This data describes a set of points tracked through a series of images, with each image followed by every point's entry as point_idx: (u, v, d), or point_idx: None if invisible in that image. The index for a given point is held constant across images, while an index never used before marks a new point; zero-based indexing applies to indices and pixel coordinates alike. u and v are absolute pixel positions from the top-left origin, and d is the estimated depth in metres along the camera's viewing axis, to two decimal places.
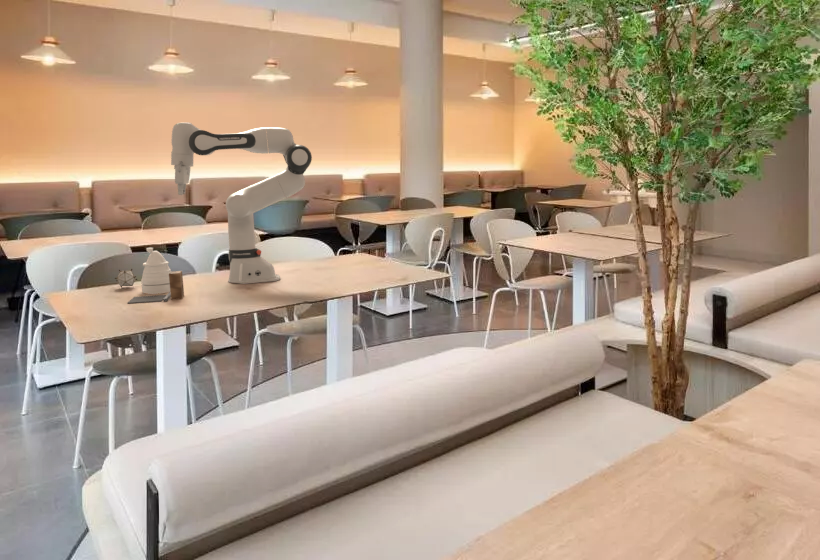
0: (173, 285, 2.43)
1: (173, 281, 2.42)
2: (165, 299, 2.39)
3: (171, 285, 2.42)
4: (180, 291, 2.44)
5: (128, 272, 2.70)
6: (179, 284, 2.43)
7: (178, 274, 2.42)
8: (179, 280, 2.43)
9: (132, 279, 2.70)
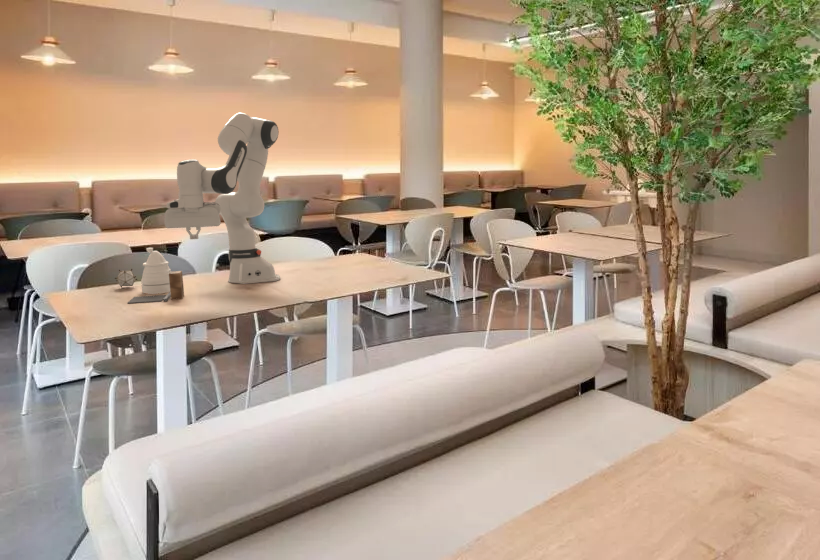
0: (173, 285, 2.43)
1: (173, 281, 2.42)
2: (165, 299, 2.39)
3: (171, 285, 2.42)
4: (180, 291, 2.44)
5: (128, 272, 2.70)
6: (179, 284, 2.43)
7: (178, 274, 2.42)
8: (179, 280, 2.43)
9: (132, 279, 2.70)
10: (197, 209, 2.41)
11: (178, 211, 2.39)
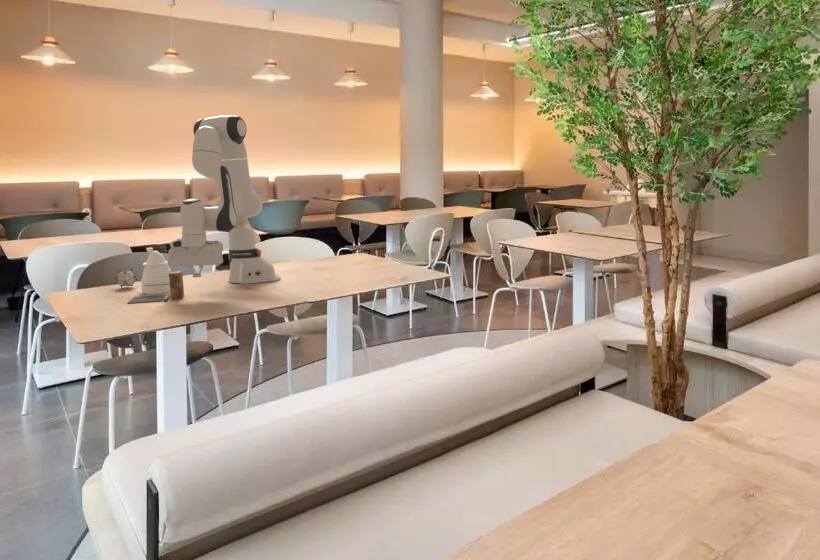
0: (173, 285, 2.43)
1: (173, 281, 2.42)
2: (165, 299, 2.39)
3: (171, 285, 2.42)
4: (180, 291, 2.44)
5: (128, 272, 2.70)
6: (179, 284, 2.43)
7: (178, 274, 2.42)
8: (179, 280, 2.43)
9: (132, 279, 2.70)
10: (200, 248, 2.43)
11: (181, 250, 2.42)
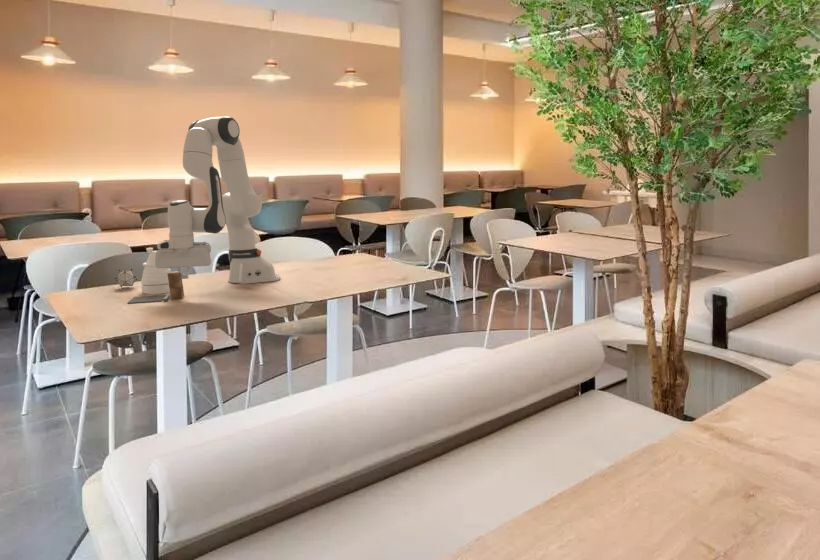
0: (172, 285, 2.42)
1: (172, 281, 2.42)
2: (165, 299, 2.39)
3: (170, 285, 2.42)
4: (180, 291, 2.43)
5: (128, 272, 2.70)
6: (178, 284, 2.43)
7: (177, 274, 2.42)
8: (178, 280, 2.43)
9: (132, 279, 2.70)
10: (188, 249, 2.42)
11: (169, 251, 2.41)
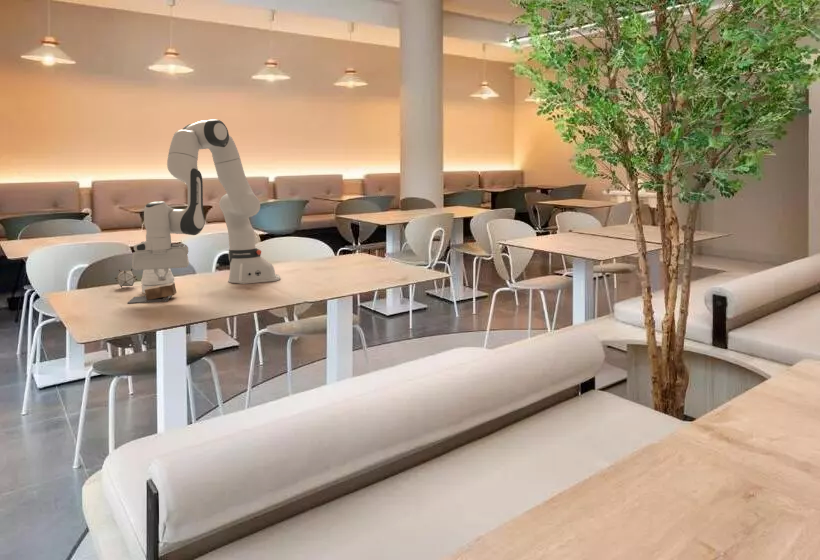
0: (158, 294, 2.42)
1: (155, 294, 2.42)
2: (165, 299, 2.39)
3: (159, 296, 2.42)
4: (164, 287, 2.42)
5: (128, 272, 2.70)
6: (156, 288, 2.42)
7: (146, 290, 2.41)
8: (152, 289, 2.41)
9: (132, 279, 2.70)
10: (164, 251, 2.41)
11: (145, 253, 2.39)
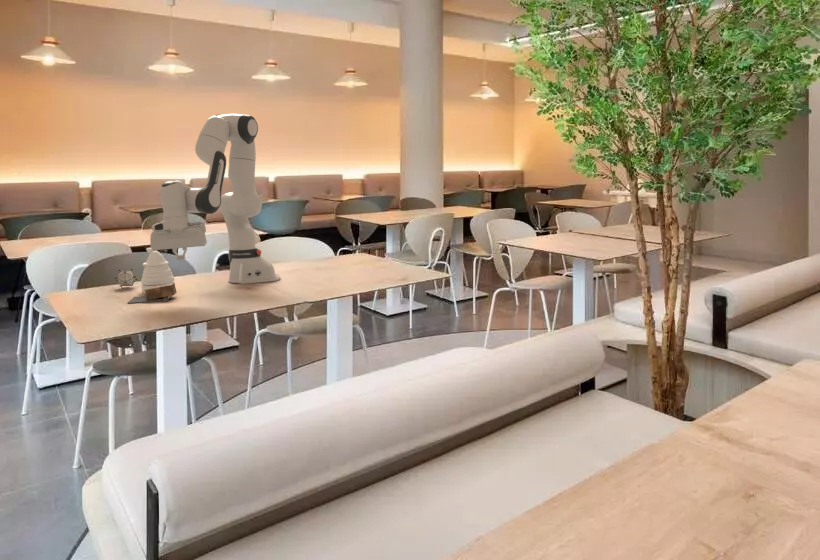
0: (158, 294, 2.42)
1: (155, 294, 2.42)
2: (165, 299, 2.39)
3: (159, 296, 2.42)
4: (164, 287, 2.42)
5: (128, 272, 2.70)
6: (156, 288, 2.42)
7: (146, 290, 2.41)
8: (152, 289, 2.41)
9: (132, 279, 2.70)
10: (182, 230, 2.41)
11: (163, 233, 2.40)
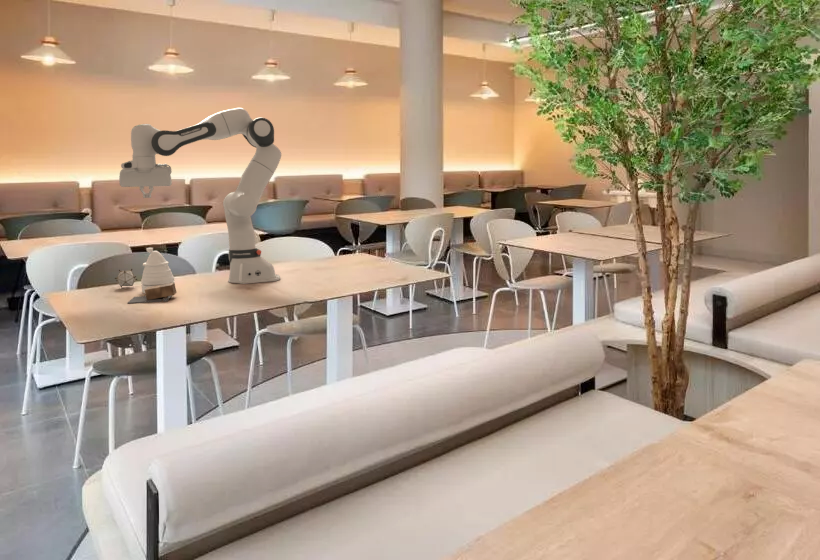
0: (158, 294, 2.42)
1: (155, 294, 2.42)
2: (165, 299, 2.39)
3: (159, 296, 2.42)
4: (164, 287, 2.42)
5: (128, 272, 2.70)
6: (156, 288, 2.42)
7: (146, 290, 2.41)
8: (152, 289, 2.41)
9: (132, 279, 2.70)
10: (149, 170, 2.64)
11: (132, 171, 2.62)
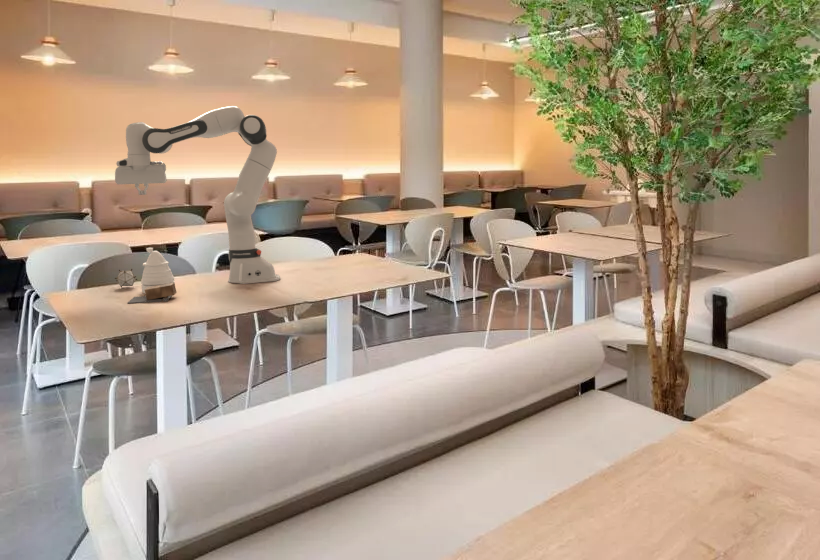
0: (158, 294, 2.42)
1: (155, 294, 2.42)
2: (165, 299, 2.39)
3: (159, 296, 2.42)
4: (164, 287, 2.42)
5: (128, 272, 2.70)
6: (156, 288, 2.42)
7: (146, 290, 2.41)
8: (152, 289, 2.41)
9: (132, 279, 2.70)
10: (144, 167, 2.69)
11: (127, 169, 2.67)
